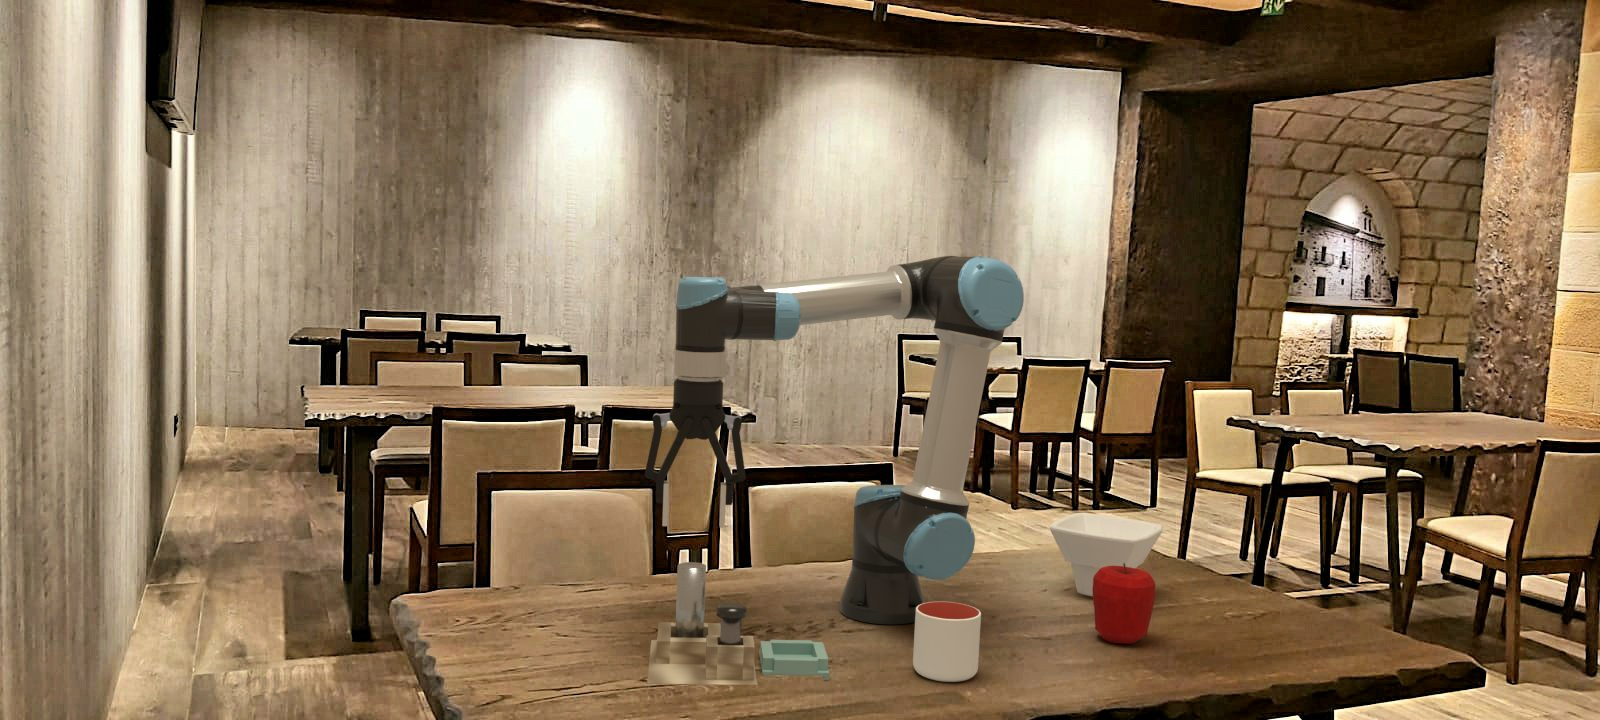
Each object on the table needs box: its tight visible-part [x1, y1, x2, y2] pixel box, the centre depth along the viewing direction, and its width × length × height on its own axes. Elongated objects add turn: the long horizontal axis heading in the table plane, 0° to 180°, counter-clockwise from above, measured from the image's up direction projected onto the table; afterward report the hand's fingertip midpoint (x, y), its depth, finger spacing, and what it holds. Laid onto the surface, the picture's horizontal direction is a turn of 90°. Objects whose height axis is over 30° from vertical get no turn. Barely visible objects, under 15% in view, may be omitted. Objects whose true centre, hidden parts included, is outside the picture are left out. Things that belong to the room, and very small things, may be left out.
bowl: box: [1049, 512, 1164, 597], centre depth 247 cm, size 19×19×14 cm
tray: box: [758, 639, 830, 681], centre depth 197 cm, size 10×10×3 cm
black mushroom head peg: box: [716, 602, 747, 645], centre depth 190 cm, size 4×4×9 cm
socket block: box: [646, 621, 758, 686], centre depth 196 cm, size 16×20×6 cm
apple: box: [1092, 563, 1156, 644], centre depth 218 cm, size 10×10×14 cm
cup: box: [912, 601, 982, 683], centre depth 198 cm, size 10×10×10 cm
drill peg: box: [675, 561, 707, 638], centre depth 199 cm, size 4×4×14 cm
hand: (693, 524), depth 198 cm, fingers open, 8 cm apart
